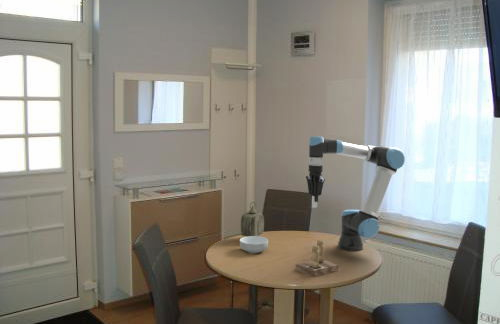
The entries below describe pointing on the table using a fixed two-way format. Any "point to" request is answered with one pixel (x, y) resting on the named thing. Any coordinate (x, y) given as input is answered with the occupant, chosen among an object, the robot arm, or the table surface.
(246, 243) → the cereal bowl
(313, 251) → the leg peg
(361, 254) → the table surface
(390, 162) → the robot arm
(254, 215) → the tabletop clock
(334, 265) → the wooden base block
